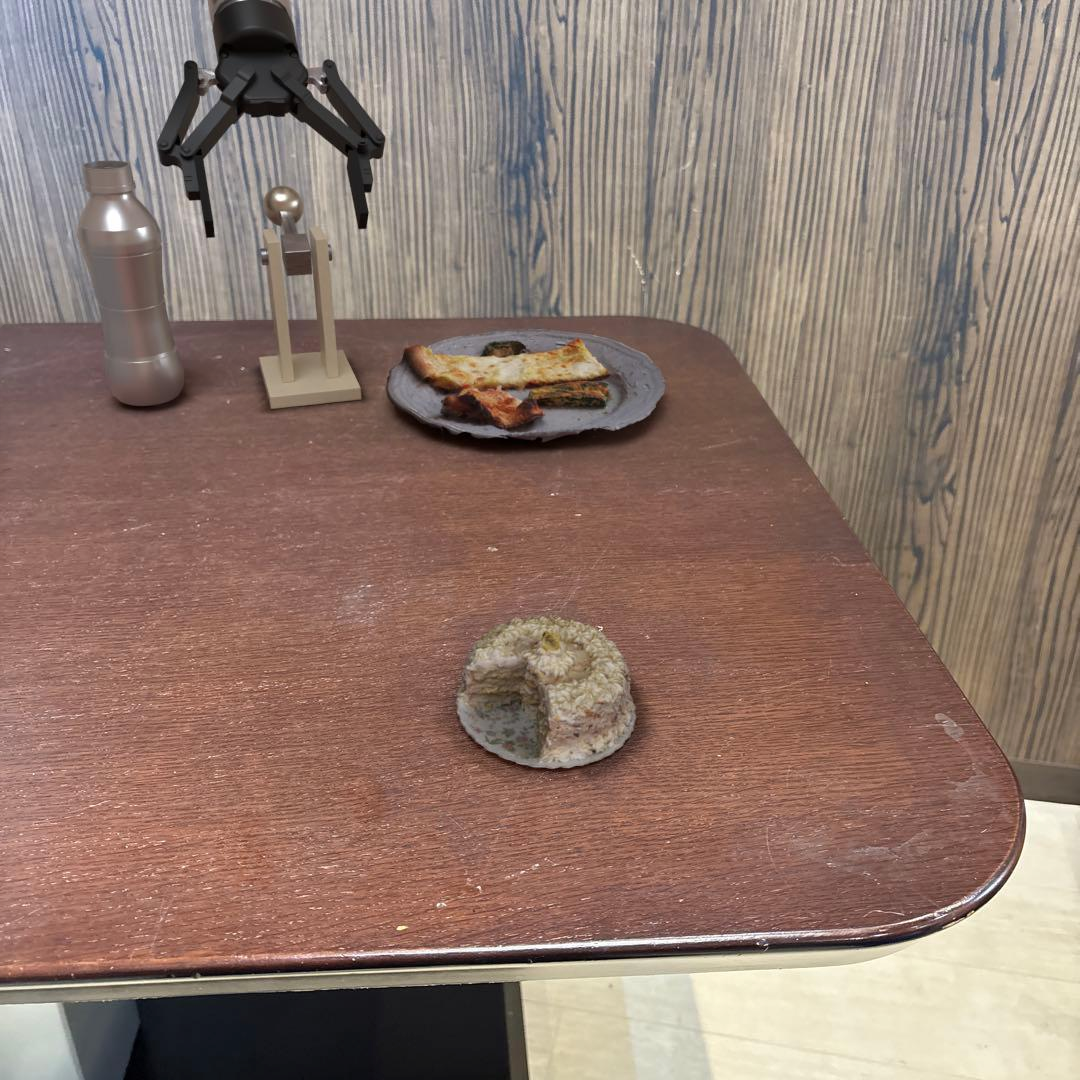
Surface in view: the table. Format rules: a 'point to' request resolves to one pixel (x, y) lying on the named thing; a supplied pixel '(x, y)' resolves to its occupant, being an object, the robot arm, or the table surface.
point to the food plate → (525, 384)
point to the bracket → (328, 369)
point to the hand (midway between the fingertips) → (288, 225)
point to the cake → (546, 693)
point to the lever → (289, 228)
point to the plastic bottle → (128, 287)
